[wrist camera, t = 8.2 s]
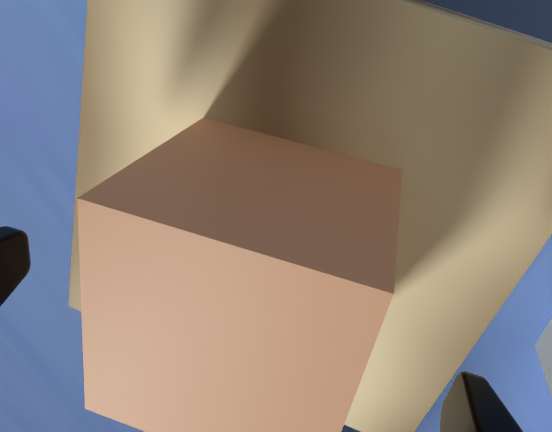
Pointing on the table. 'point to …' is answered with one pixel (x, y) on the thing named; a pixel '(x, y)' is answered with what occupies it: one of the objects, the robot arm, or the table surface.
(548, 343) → the white cube
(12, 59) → the table surface
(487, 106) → the maple block
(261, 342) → the terracotta cube
